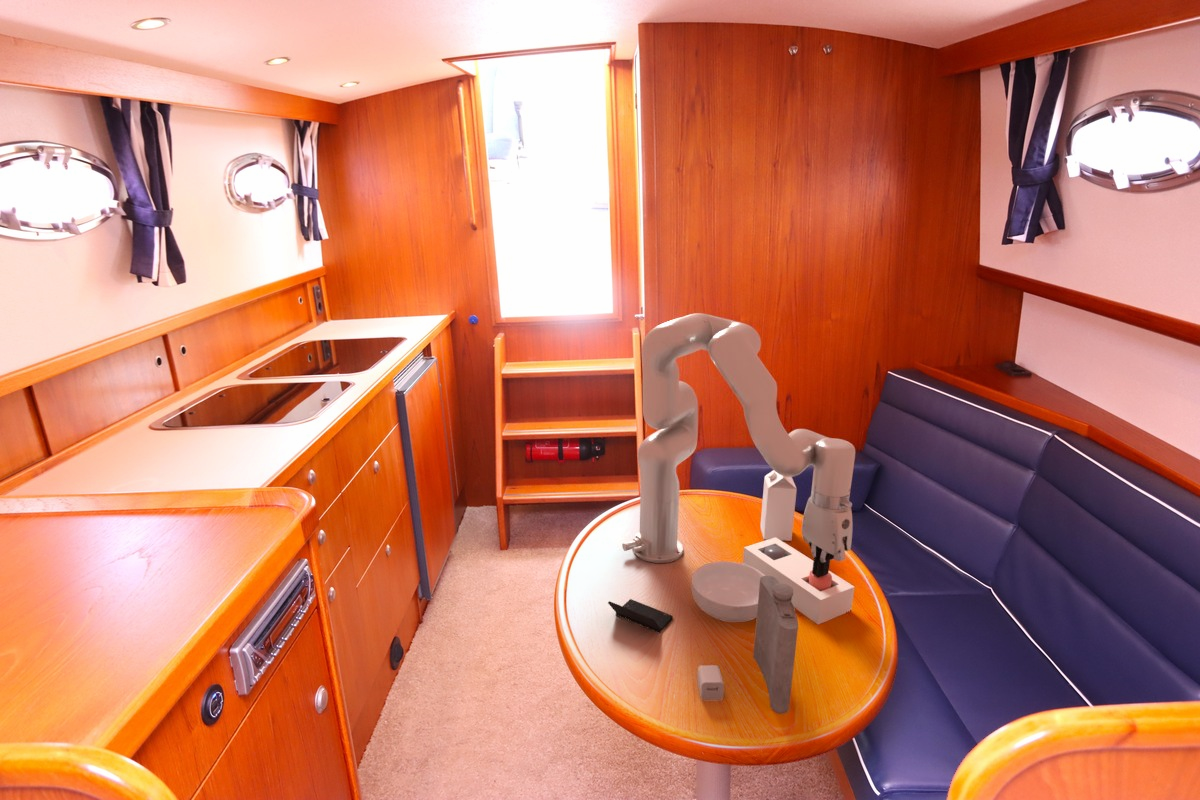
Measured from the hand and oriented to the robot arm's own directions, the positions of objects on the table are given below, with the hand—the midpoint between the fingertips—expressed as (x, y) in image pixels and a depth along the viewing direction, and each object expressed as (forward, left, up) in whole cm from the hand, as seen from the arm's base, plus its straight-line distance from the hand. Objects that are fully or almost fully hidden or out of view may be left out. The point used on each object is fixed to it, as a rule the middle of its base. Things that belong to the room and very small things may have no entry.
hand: (820, 573), depth 142 cm
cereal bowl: (-18, +8, -8) cm, 21 cm away
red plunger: (0, 0, -6) cm, 6 cm away
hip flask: (-25, -13, -8) cm, 29 cm away
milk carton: (+14, +28, -8) cm, 32 cm away
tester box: (0, +7, -8) cm, 10 cm away
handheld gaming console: (-37, +14, -8) cm, 40 cm away
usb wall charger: (-36, -9, -8) cm, 38 cm away
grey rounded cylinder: (0, +14, -7) cm, 16 cm away
